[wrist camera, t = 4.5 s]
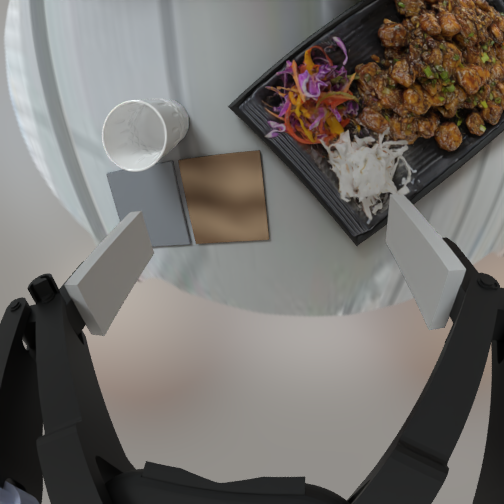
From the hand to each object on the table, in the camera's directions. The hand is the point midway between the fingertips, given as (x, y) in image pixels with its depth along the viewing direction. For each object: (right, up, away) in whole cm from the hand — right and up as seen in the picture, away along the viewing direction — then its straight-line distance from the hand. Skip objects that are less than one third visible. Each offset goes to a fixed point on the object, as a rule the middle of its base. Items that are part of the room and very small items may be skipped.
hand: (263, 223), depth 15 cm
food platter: (+22, +22, +14) cm, 34 cm away
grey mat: (-16, +5, +28) cm, 32 cm away
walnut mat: (-4, +6, +26) cm, 27 cm away
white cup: (-12, +16, +21) cm, 29 cm away
